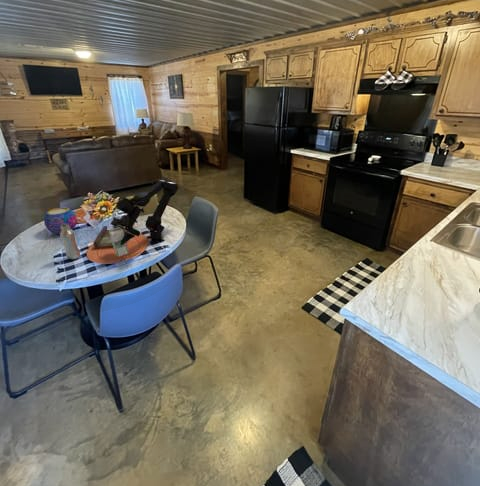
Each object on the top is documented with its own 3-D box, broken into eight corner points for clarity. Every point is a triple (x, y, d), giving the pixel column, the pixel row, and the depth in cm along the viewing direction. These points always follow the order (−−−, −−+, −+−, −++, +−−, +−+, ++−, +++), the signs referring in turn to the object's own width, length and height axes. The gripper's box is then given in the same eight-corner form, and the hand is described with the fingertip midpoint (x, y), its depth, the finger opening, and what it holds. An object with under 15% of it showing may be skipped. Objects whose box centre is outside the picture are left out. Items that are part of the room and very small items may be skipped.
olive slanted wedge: (131, 229, 174) (130, 223, 173) (124, 246, 154) (122, 239, 153) (105, 231, 172) (104, 225, 170) (95, 249, 152) (93, 242, 150)
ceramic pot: (82, 223, 182) (76, 203, 176) (76, 235, 167) (70, 214, 161) (53, 227, 177) (46, 207, 171) (44, 240, 161) (36, 218, 156)
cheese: (128, 219, 189) (125, 199, 183) (126, 214, 197) (123, 195, 191) (159, 213, 199) (157, 194, 193) (156, 208, 207) (154, 190, 201)
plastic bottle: (75, 261, 140) (65, 228, 132) (64, 260, 141) (53, 227, 133) (83, 255, 146) (75, 223, 138) (73, 254, 147) (64, 222, 139)
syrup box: (125, 248, 145) (119, 226, 139) (129, 253, 141) (123, 230, 135) (114, 252, 142) (108, 229, 136) (118, 257, 138) (111, 234, 132)
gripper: (110, 206, 140) (94, 233, 136) (131, 214, 130) (115, 243, 126) (126, 214, 149) (111, 239, 145) (146, 222, 140) (132, 249, 136)
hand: (117, 242), depth 138 cm, fingers closed on syrup box, 7 cm apart
